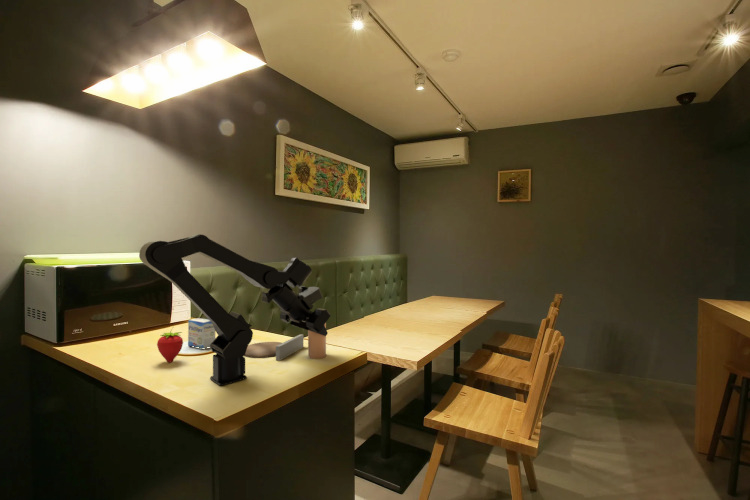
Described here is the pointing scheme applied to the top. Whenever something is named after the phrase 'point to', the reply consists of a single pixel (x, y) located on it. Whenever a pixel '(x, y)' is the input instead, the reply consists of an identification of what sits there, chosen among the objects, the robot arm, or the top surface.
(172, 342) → the strawberry
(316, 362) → the top surface
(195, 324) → the medicine box
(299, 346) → the grey wall
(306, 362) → the top surface
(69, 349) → the top surface
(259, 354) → the walnut board
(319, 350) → the salmon orange cylinder
